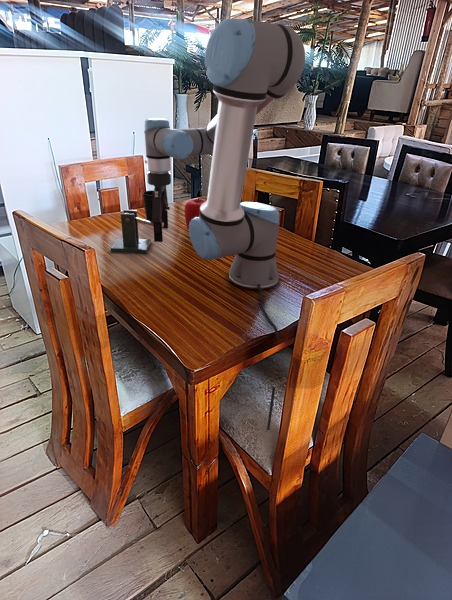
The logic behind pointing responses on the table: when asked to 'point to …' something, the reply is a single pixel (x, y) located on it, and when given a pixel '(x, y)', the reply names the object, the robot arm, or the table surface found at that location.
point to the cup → (148, 204)
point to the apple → (192, 209)
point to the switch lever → (144, 221)
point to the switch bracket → (130, 236)
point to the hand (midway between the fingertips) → (161, 234)
